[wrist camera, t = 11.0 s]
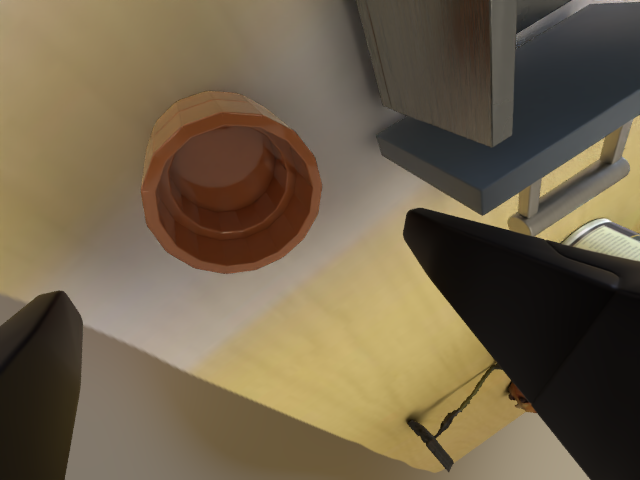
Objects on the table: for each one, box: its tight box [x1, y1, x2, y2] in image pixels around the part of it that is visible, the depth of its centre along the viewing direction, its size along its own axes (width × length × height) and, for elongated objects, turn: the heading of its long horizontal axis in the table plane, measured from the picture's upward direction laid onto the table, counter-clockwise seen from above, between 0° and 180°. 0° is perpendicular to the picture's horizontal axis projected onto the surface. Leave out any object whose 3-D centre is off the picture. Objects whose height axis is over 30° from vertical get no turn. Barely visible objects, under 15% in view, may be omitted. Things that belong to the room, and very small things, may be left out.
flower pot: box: [141, 91, 322, 274], centre depth 12 cm, size 6×6×4 cm
